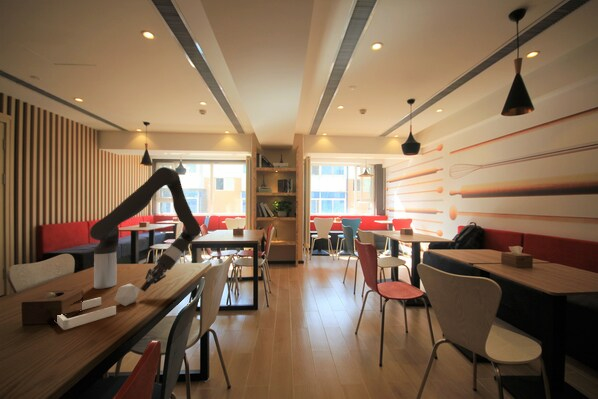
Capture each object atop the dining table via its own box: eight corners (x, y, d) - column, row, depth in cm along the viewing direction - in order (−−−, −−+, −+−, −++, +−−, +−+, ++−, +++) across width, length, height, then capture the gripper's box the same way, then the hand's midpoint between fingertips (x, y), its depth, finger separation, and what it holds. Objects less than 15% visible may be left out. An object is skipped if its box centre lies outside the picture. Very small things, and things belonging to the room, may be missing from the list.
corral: (51, 317, 96) (51, 309, 96) (100, 304, 108) (100, 297, 108) (63, 330, 86) (63, 321, 86) (116, 314, 98) (116, 306, 98)
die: (141, 305, 108) (145, 282, 114) (123, 301, 101) (128, 277, 107) (126, 310, 110) (131, 288, 115) (107, 307, 103) (113, 283, 109)
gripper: (157, 251, 125) (129, 283, 115) (171, 254, 117) (142, 288, 107) (168, 260, 129) (142, 291, 119) (182, 263, 122) (155, 297, 111)
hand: (142, 290), depth 113 cm, fingers closed
